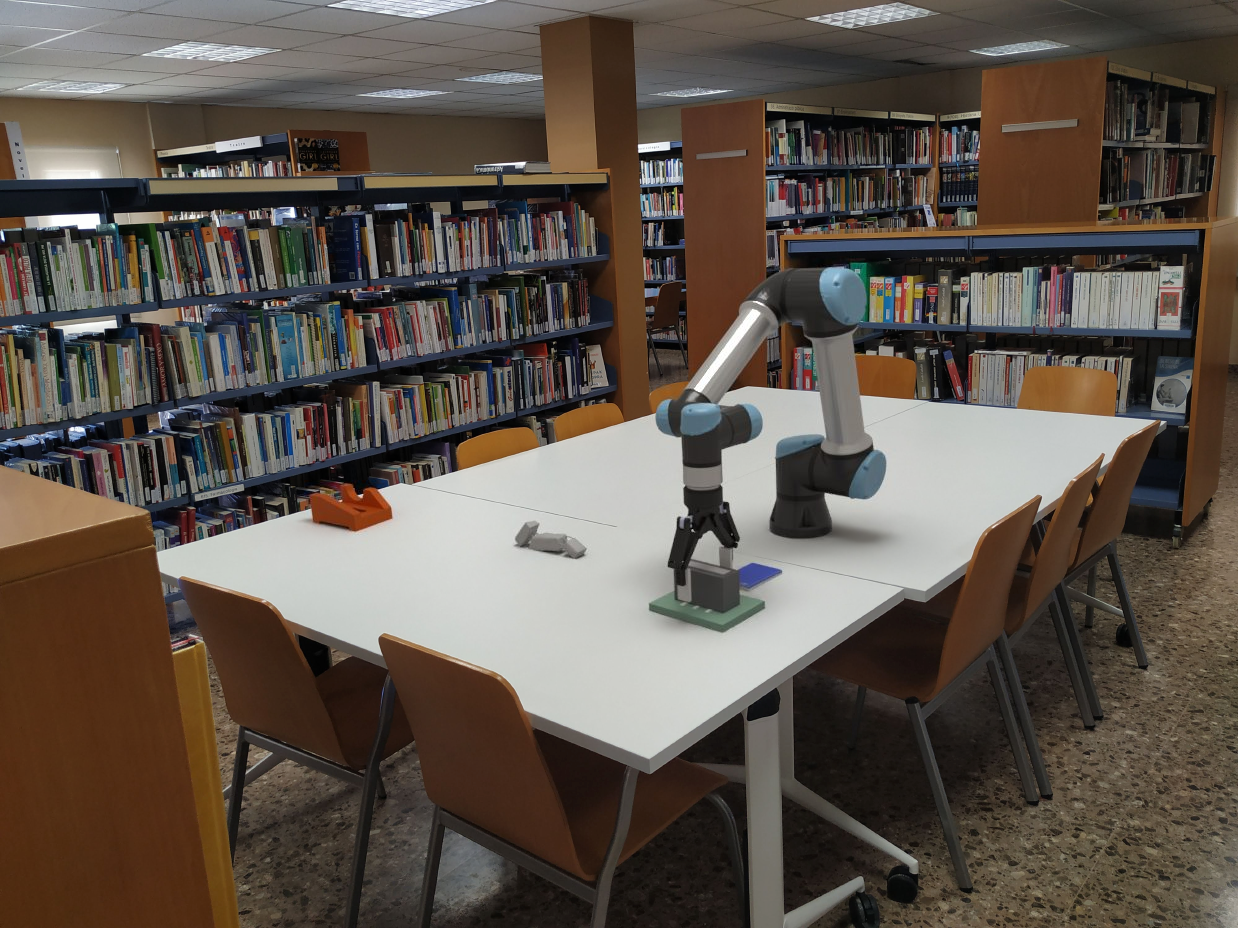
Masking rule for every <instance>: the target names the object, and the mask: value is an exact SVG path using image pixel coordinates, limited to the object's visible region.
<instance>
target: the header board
mask: <svg viewBox="0 0 1238 928" xmlns="http://www.w3.org/2000/svg"><path fill="white" fill-rule="evenodd" d="M765 608H766V601H765V600H763V599H759V598H755V597H752V596H747V595H744V594H741V593H740V605H738V606H736V607H734V608H732V609H730V610H728V611H727V612H725V613H722V612H718V611H715V610H711V609H707V608H704V607H700V606H697V605H693V604H690V603H686V602H683V601H679V600H676V599H674V590H673V591H671V592H669V593H666V594H664V595H662V596H660V597H658V598H657V599H655V600H653V601H651V602H649V603H648V610H649V611H650V612H653V613H654V612H655V613H657V614H660V615H664V616H666V617H670V618H674V619H678V620H680V621H684V622H687V623H691V624H694V625H697V626H701V627H703V628H706V629H711V630H714V631H716V632H720V633H725V632H726V631H728V630H729V629H731V628H733V627H735V626H737V625H738V624H740V623H742V622H744V621H745V620H746V619H748V618H750V617H752V616H754V615H755V614H757V613H759V612H760V611H762V610H764V609H765Z"/></svg>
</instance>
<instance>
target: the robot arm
mask: <svg viewBox="0 0 1238 928" xmlns="http://www.w3.org/2000/svg"><path fill="white" fill-rule="evenodd" d="M867 300H868V299H867V292H866V287H865V284H864V282H863V280H862V279H861V277H860V276H859V274H858V273H856V272H855V271H854V270H852V269H850V268H841V267H834V266H831V267H830V266H829V267H808V268H806V267H805V268H804V267H803V268H799V267H792V268H786V269H783V270H780V271H778V272H776V273H774V274H772V275H770V276H769V277H767V278H766V279H764V280H763V281H762V282H761V283H760V284H759V285H758V286H757V287H755V288H754V289H753V290H752V291H751V292H750V293H749V295H748V296H746V298H745V299H744V300H743V302H742V303H741V304H740V306H739V308H738V313H739V315H738V316H737V318H736V319H735V320H734V322H733V323H732V324H731V326H730V327H729V329H728V330H727V331H726V332H725V334H724V335H723V336H722V338H721V339H720V341H719V342H718V343H717V344H716V346H715V348H714V349H713V350H712V351H711V353H710V354H709V355H708V357H707V358H706V359H705V360H704V362H703V364H702V365H701V366H700V367H699V369H698V370H697V371H696V373H695V374H694V375H693V377H692V378H691V380H690V381H689V382H688V384H687V385H686V387H684V389H683V391H682V392H681V393H680V394H679V396H678V397H677V399H676V398H671V399H669V398H668V399H665V400H663V401H661V402H660V403H659V404H658V405H657V409H656V411H655V424H656V427H657V429H658V430H659V431H660V432H661V433H663V434H664V435H668V436H672V437H675V438H681V440H680V441H681V454H682V456H681V457H682V461H681V462H682V483H683V484H684V486H683V488H682V489H683V491H682V493H683V504H684V506H685V507H686V508H687V516H677V517H676V527H675V528H676V529H675V532H674V536H673V541H672V545H671V549H670V553H669V556H668V561H667V568H669V569H673V570H674V569H675V570H676V584H677V588H678V599H679V600H683V601H686V602H690V601H691V574H690V569H689V568H687V567H688V565H689V562H690V560H691V559H692V557H693V554H694V553H695V549H696V547H697V545H698V542H699V540H701V539H702V538H703V536H704V535H705V534H707V533H708V532H712V534H713V535H714V536H715V537H716V539H717V540H718V542H719V543H720V545H722V546H719V547H718V557H719V558H718V559H719V560H718V562H719V566H723V567H727V568H731V569H734V568H733V567H734V566H733V563H734V549H737V548H738V547H739V544H738V543H739V542H740V541H741V536H740V535H739V532H738V530H737V529H738V528H737V527H736V524H735V521H734V519H733V515H732V513H731V508H730V502H729V501H726V500H725V501H724V496H723V495H724V492H723V486H722V485H721V484H723V482H724V481H723V480H724V477H723V459H722V457H723V456H722V450H726V449H728V448H732V447H735V446H739V445H743V444H747V443H748V442H750V441H753V440H754V439H756V438H757V437H758V436H760V435H761V433H762V430H763V428H764V427H763V425H764V422H763V421H764V420H763V417H762V414H761V412H760V410H759V409H758V408H757V407H756V406H755V405H754V404H751V403H737V404H735V405H723V404H719V403H720V402H721V400H722V399H723V397H724V396H725V395H726V393H727V392H728V390H729V389H730V388H731V387H732V385H733V384H734V382H736V380H737V378H738V376H739V375H740V374H741V373H742V371H743V369H744V368H745V367H746V366H747V364H748V363H749V361H750V360H751V359H752V357H753V356H754V354H755V353H756V352H757V351H758V348H760V346H761V344H763V342H764V341H765V339H766V337H767V336H770V335H773V334H775V333H776V331H778V329H779V327H780V326H782V325H784V324H786V323H801V325H802V330H803V335H804V337H806V339H808V340H810V342H811V343H812V344H811V345H812V348H813V349H812V350H813V357H814V363H815V370H816V377H817V382H818V383H817V384H818V389H819V390H818V391H819V397H820V404H821V410H822V411H821V412H822V416H823V424H824V430H825V436H824V435H822V434H817V433H816V434H815V433H814V434H813V433H811V434H800V435H799V434H798V435H794V436H793V435H792V436H790V437H789V436H787V437H784V438H783V439H781V440H779V441H778V442H777V443H776V447H775V457H774V459H775V488H776V489H775V491H776V493H775V494H776V496H775V501H774V504H773V508H772V511H771V513H770V517H769V521H768V522H769V531H770V532H772V533H773V534H776V535H777V536H782V537H784V538H785V537H786V538H793V539H794V538H796V539H807V538H808V539H809V538H810V539H811V538H818V537H823V536H825V535H827V534H829V533H831V532H832V530H833V519H832V517H831V514H830V510H829V507H828V504H827V502H826V498H825V497H826V496H825V494H829V495H832V496H833V495H835V496H838V497H846V498H850V499H852V500H854V499H857V500H869V499H871V498H872V497H874V496H875V495H876V494H877V492H879V490H880V489H881V487H882V484H883V482H884V479H885V475H886V472H887V458H886V455H885V454H884V453H883V452H882V451H881V450H879V449H875V448H874V442H873V441H874V440H873V438H872V436H871V435H870V434H868V432H867V433H866V431H865V425H864V418H863V417H864V416H863V409H862V401H861V394H860V385H859V378H858V370H857V363H856V355H855V354H856V353H855V345H854V339H853V334H854V333H855V331H856V330H858V328H859V323H860V321H862V319H863V317H864V315H865V313H866V311H867V310H866V306H867V302H868V301H867ZM682 562H683V563H682Z"/></svg>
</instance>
